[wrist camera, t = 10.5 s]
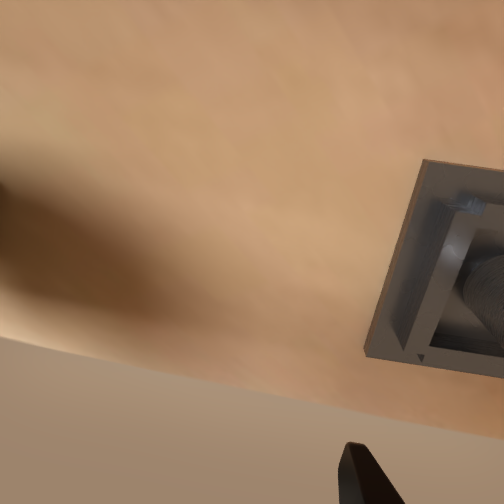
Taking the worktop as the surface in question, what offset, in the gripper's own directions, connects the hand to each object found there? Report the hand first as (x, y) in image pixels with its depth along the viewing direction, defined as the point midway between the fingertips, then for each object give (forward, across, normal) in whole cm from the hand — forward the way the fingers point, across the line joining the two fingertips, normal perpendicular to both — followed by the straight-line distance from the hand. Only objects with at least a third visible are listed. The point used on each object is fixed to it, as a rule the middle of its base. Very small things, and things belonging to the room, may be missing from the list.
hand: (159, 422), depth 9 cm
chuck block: (+13, -15, 0) cm, 20 cm away
